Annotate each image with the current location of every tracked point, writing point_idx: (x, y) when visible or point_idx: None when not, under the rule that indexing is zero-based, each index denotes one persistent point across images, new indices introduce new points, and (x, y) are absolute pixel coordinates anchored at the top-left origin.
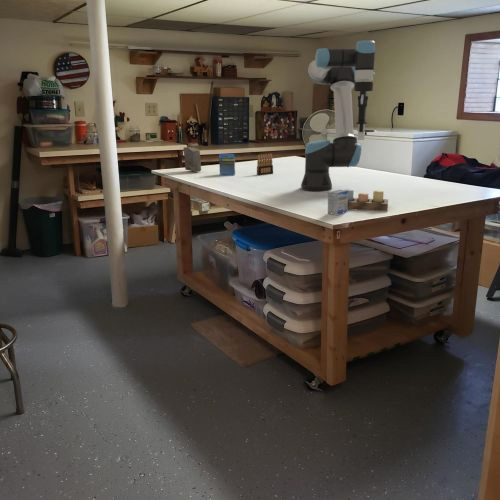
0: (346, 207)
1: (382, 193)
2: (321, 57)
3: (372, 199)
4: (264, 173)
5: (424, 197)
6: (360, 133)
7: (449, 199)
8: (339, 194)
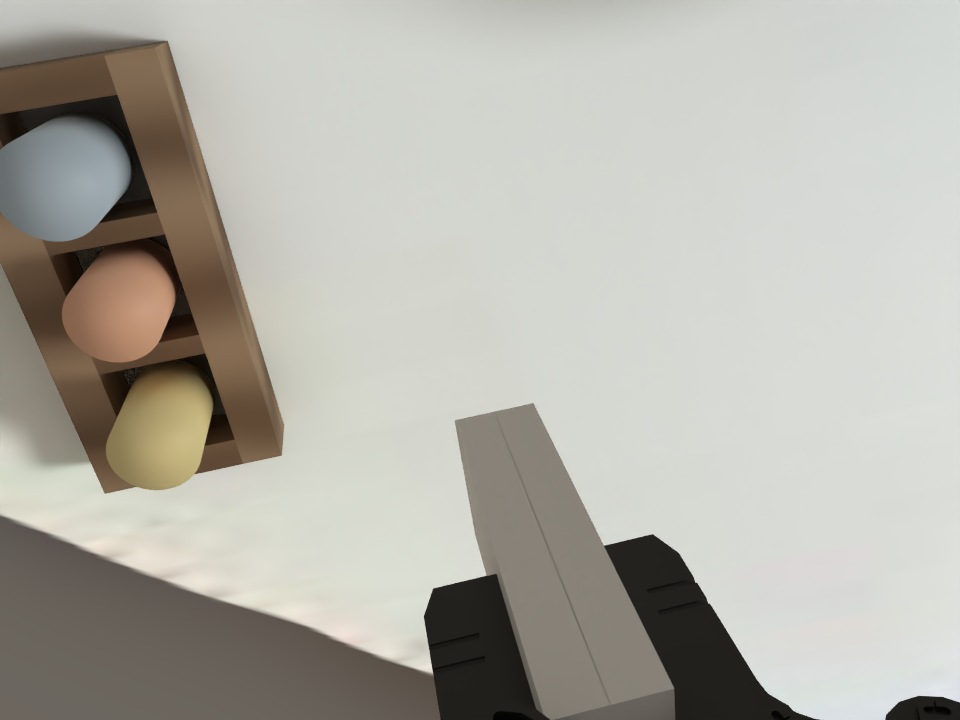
0: None
1: (142, 480)
2: None
3: (215, 354)
4: None
5: (684, 544)
6: (491, 565)
7: None
8: None
